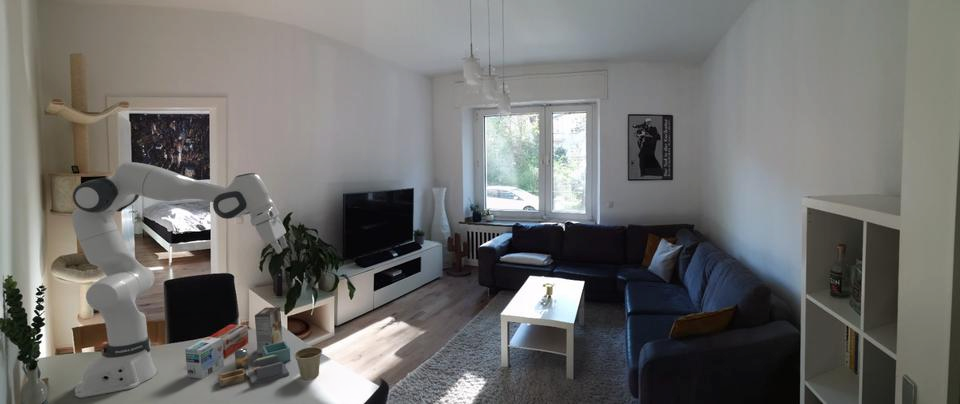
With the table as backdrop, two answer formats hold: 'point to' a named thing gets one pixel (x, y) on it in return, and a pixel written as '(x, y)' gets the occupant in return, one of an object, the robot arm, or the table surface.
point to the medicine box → (232, 338)
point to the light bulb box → (204, 357)
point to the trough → (232, 377)
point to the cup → (278, 351)
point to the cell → (241, 359)
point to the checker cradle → (267, 370)
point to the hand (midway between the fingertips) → (282, 250)
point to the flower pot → (308, 361)
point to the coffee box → (268, 327)
